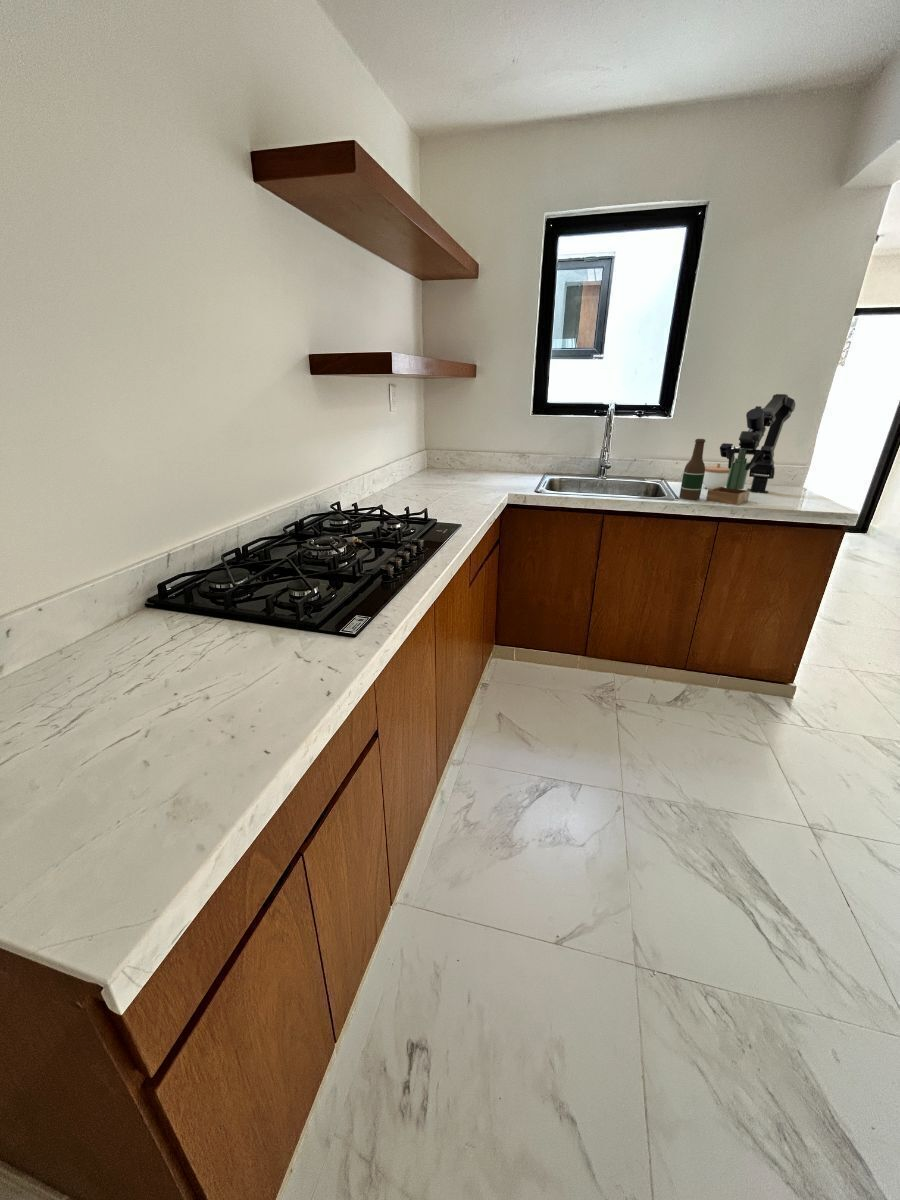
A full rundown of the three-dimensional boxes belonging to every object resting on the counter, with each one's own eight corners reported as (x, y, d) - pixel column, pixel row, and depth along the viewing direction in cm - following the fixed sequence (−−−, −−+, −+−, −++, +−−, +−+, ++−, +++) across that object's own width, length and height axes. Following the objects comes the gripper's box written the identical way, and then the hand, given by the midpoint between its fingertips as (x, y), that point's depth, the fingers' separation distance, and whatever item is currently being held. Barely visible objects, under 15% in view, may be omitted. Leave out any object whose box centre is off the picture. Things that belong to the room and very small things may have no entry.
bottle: (723, 486, 203) (731, 448, 197) (739, 486, 203) (748, 448, 197) (729, 489, 197) (738, 449, 192) (746, 489, 197) (755, 450, 191)
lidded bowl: (734, 490, 225) (740, 465, 221) (706, 490, 225) (711, 465, 221) (721, 485, 237) (726, 461, 233) (694, 485, 237) (698, 461, 233)
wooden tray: (717, 497, 211) (719, 486, 209) (747, 501, 203) (749, 490, 201) (705, 501, 204) (708, 490, 202) (736, 505, 196) (738, 494, 194)
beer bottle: (698, 498, 209) (710, 438, 200) (700, 501, 203) (712, 440, 193) (678, 496, 212) (689, 437, 202) (679, 500, 205) (690, 439, 196)
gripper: (726, 422, 199) (710, 453, 196) (779, 424, 187) (763, 457, 184) (729, 441, 207) (713, 471, 205) (780, 444, 195) (764, 476, 192)
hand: (737, 468), depth 196 cm, fingers closed on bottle, 6 cm apart
